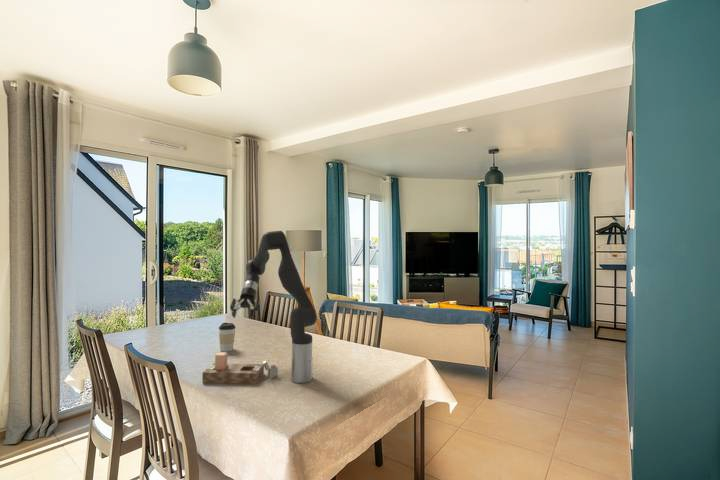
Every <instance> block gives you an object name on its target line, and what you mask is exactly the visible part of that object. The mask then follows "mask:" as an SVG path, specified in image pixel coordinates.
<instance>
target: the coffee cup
mask: <svg viewBox="0 0 720 480" xmlns="http://www.w3.org/2000/svg"><path fill="white" fill-rule="evenodd" d="M218 330H219V331H218V332H219V334H218V338H219V347H220V350H219V351H220V352H225V353H228V352H231V351H233V350H234V343H235V337H236V335H235V334H236V325H235V324H234V323H233V322H223V323H221V324H220V325H219V327H218Z"/></svg>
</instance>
